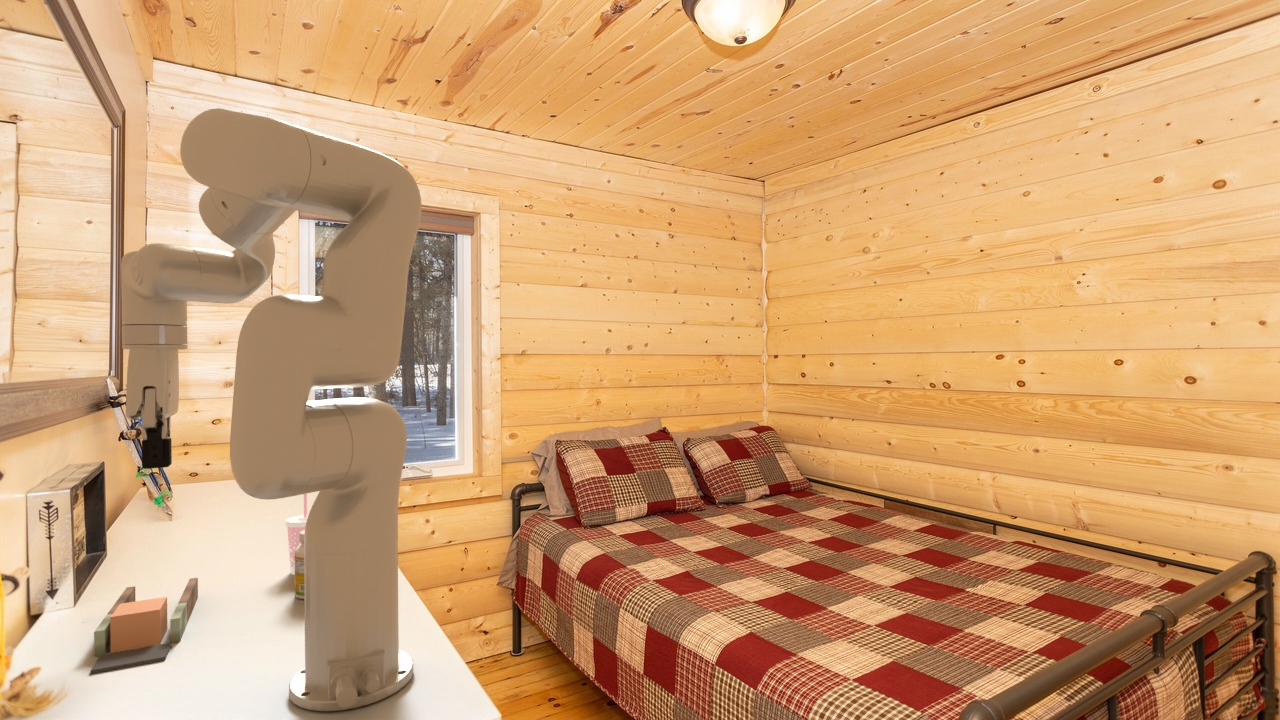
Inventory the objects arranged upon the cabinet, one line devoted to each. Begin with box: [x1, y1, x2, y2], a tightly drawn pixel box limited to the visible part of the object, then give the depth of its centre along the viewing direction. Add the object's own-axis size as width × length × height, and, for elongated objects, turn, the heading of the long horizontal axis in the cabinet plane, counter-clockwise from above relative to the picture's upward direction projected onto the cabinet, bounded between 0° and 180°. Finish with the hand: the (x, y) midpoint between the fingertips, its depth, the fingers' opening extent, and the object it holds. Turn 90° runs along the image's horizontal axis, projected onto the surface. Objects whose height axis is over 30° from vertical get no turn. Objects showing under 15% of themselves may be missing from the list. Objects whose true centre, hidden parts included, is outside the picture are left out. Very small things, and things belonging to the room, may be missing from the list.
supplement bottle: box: [294, 530, 305, 600], centre depth 100 cm, size 5×5×10 cm
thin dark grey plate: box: [89, 642, 172, 675], centre depth 78 cm, size 4×7×1 cm, turn 118°
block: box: [110, 596, 168, 653], centre depth 84 cm, size 5×5×4 cm
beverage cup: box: [284, 493, 309, 576], centre depth 111 cm, size 6×6×14 cm
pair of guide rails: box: [93, 577, 199, 657], centre depth 89 cm, size 18×9×3 cm, turn 28°
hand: (157, 466), depth 93 cm, fingers closed
